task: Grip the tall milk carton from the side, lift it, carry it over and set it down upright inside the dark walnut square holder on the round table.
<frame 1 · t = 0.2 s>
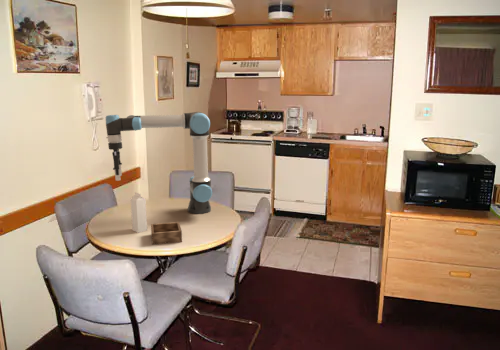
hand: (118, 178, 248), 27 cm above the table, tool pointing down, fingers open, 13 cm apart
milk: (139, 230, 241), on the table
holder: (166, 238, 229), on the table
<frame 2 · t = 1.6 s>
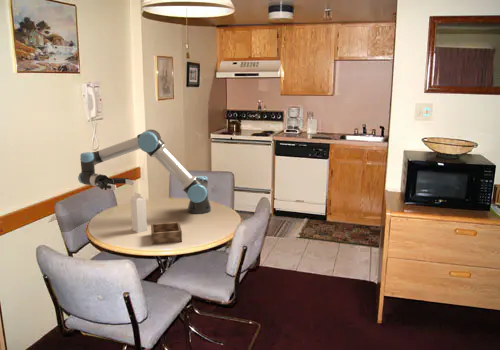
hand: (125, 185, 240), 25 cm above the table, tool horizontal, fingers open, 13 cm apart
nothing on the table moved.
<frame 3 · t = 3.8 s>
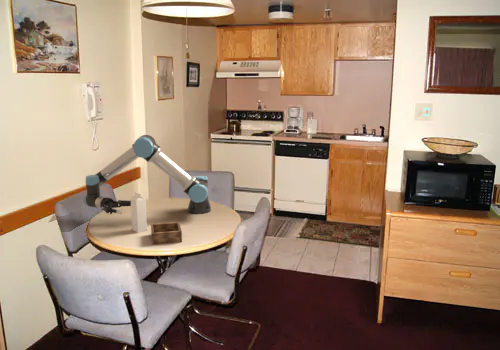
hand: (130, 208, 241), 12 cm above the table, tool horizontal, fingers open, 13 cm apart
nothing on the table moved.
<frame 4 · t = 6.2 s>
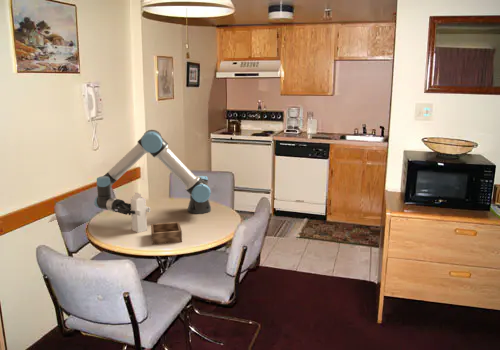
hand: (145, 211, 236), 12 cm above the table, tool horizontal, fingers closed on milk, 7 cm apart
milk: (139, 230, 241), on the table, touching gripper
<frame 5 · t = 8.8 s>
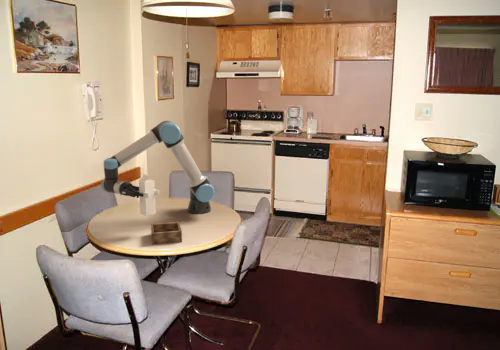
hand: (153, 194, 227), 24 cm above the table, tool horizontal, fingers closed on milk, 7 cm apart
milk: (148, 214, 232), point 12 cm above the table, touching gripper
when the fingers open (14 cm above the table, at t = 11.9 s): milk drops 1 cm, resting on holder.
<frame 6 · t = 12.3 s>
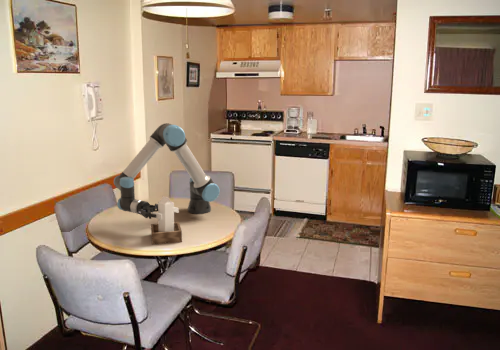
hand: (170, 213, 224), 14 cm above the table, tool horizontal, fingers open, 12 cm apart
milk: (166, 236, 229), point 1 cm above the table, touching holder
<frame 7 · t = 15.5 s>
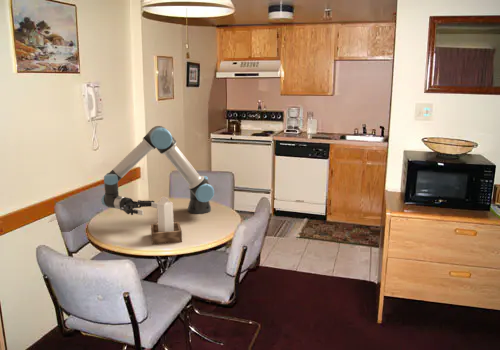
hand: (151, 209, 231), 15 cm above the table, tool horizontal, fingers open, 13 cm apart
nothing on the table moved.
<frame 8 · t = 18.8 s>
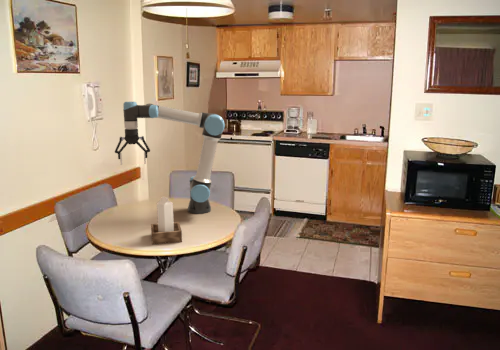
hand: (133, 164, 252), 35 cm above the table, tool pointing down, fingers open, 13 cm apart
nothing on the table moved.
at the end: milk 0.1 cm off-centre on the holder, point 0.8 cm above the holder's base; milk tilted 0°; the gripper is holding nothing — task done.
